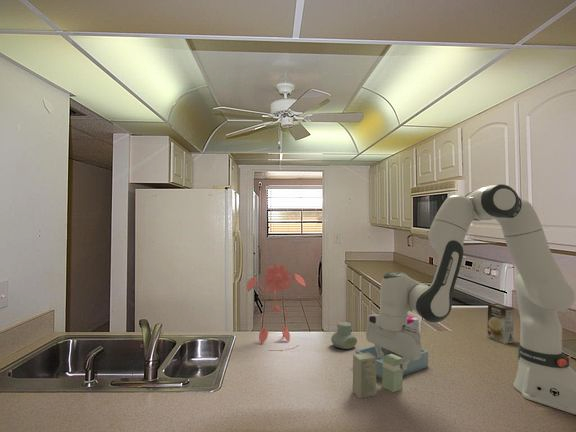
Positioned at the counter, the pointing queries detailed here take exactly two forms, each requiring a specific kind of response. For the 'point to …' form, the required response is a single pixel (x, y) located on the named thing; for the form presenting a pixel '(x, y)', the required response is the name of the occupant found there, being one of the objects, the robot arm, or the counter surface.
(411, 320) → the supplement box
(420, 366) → the tote
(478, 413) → the counter surface
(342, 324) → the air freshener
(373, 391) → the skincare box
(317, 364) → the counter surface
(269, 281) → the figurine
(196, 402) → the counter surface
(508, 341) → the coffee box
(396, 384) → the carton
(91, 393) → the counter surface
